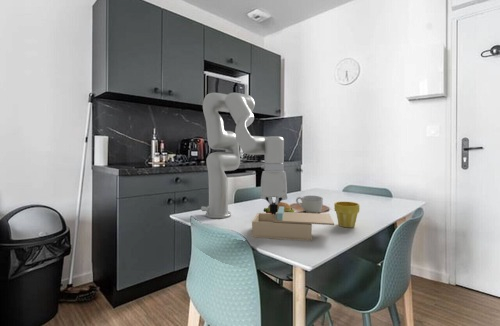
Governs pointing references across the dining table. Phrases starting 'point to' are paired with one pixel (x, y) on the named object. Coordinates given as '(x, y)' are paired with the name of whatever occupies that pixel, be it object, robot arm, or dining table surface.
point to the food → (286, 207)
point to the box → (279, 228)
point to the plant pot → (346, 213)
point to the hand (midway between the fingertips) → (273, 213)
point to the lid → (302, 217)
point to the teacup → (311, 203)
